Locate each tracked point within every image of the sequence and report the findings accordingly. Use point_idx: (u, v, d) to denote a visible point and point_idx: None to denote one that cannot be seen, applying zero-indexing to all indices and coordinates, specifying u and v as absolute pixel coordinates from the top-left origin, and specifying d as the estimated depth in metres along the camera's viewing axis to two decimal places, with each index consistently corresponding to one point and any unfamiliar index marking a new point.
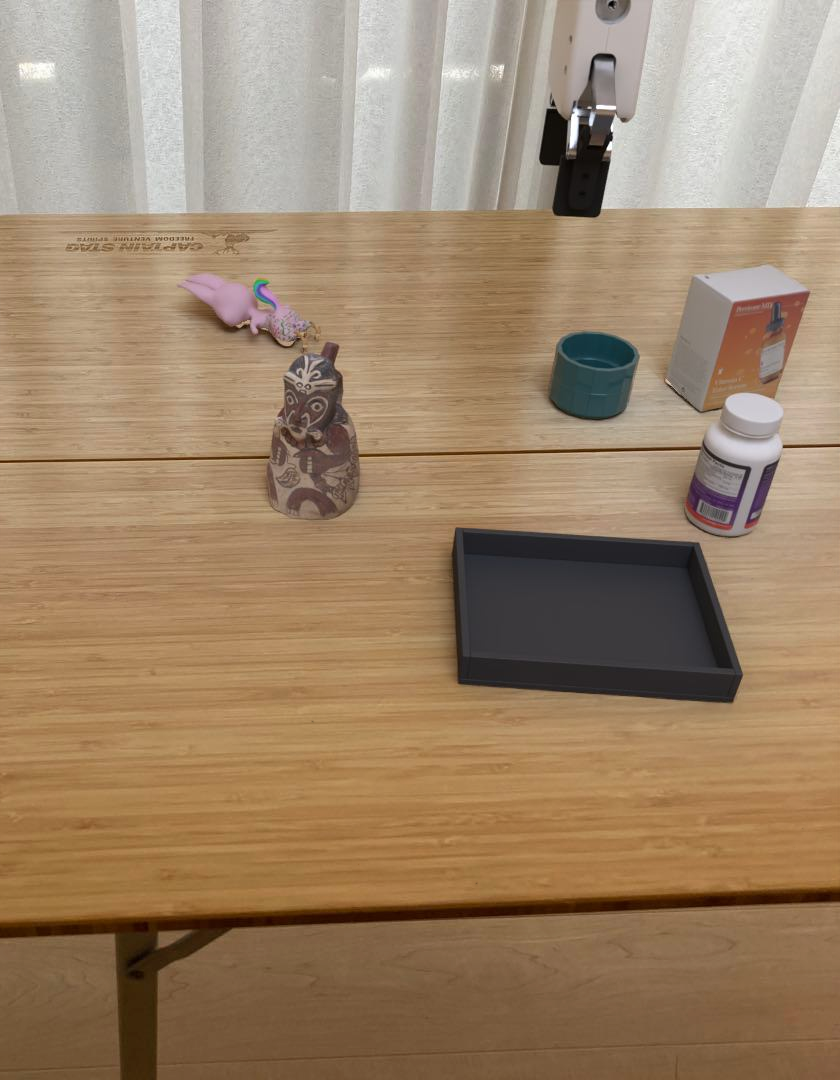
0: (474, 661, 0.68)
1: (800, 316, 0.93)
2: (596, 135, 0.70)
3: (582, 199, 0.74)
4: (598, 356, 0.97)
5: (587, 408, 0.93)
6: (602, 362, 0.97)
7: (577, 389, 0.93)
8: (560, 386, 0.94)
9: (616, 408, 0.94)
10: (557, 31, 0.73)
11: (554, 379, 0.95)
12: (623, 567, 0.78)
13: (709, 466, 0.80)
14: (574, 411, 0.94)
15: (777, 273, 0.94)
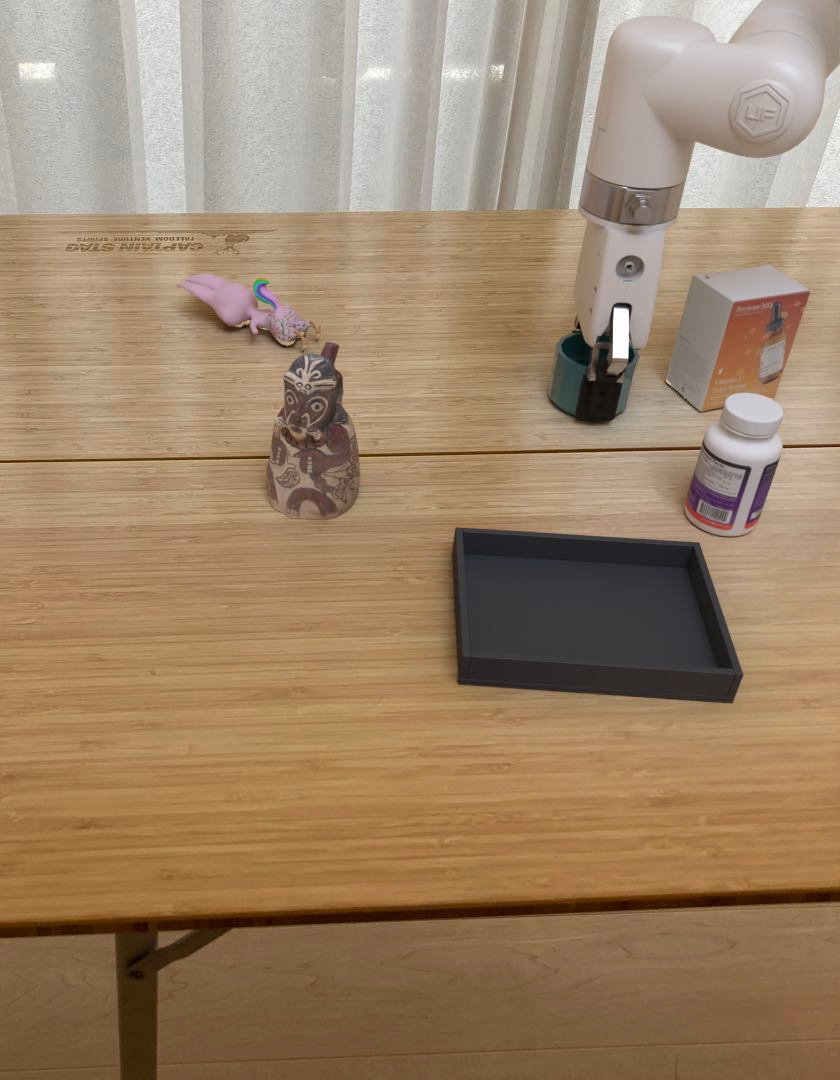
0: (474, 661, 0.68)
1: (800, 316, 0.93)
2: (612, 371, 0.87)
3: (600, 409, 0.92)
4: None
5: None
6: None
7: (577, 389, 0.93)
8: (560, 386, 0.94)
9: None
10: (583, 274, 0.89)
11: (554, 379, 0.95)
12: (623, 567, 0.78)
13: (709, 466, 0.80)
14: (574, 411, 0.94)
15: (777, 273, 0.94)
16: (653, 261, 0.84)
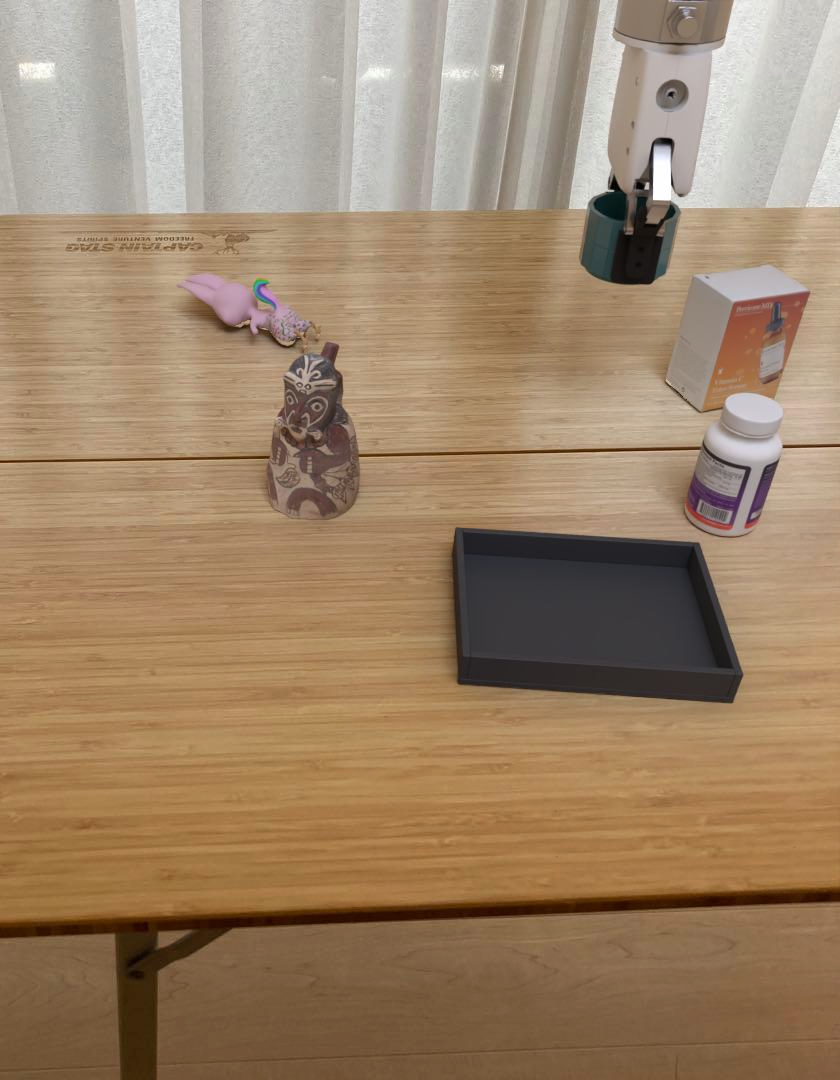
0: (474, 661, 0.68)
1: (800, 316, 0.93)
2: (652, 218, 0.78)
3: (638, 269, 0.82)
4: None
5: None
6: None
7: (612, 249, 0.83)
8: (592, 248, 0.85)
9: None
10: (618, 114, 0.80)
11: (585, 242, 0.85)
12: (623, 567, 0.78)
13: (709, 466, 0.80)
14: (608, 276, 0.85)
15: (777, 273, 0.94)
16: (698, 86, 0.74)
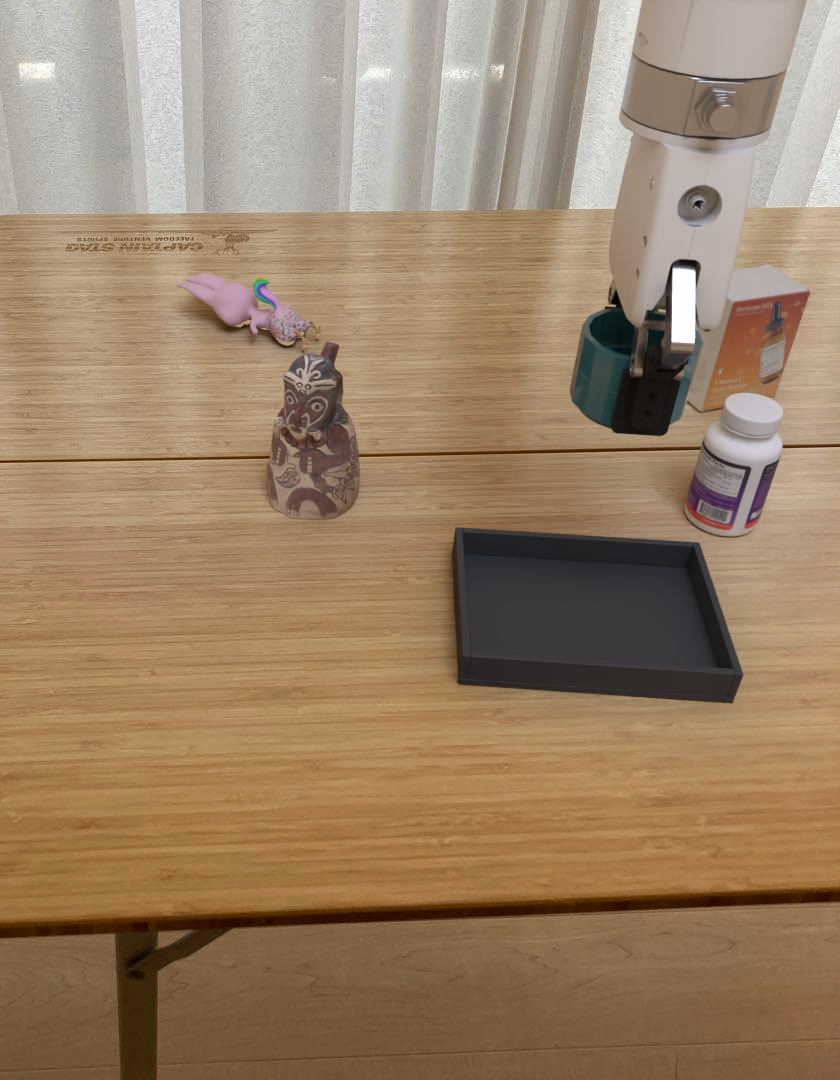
0: (474, 661, 0.68)
1: (800, 316, 0.93)
2: (668, 364, 0.58)
3: (647, 419, 0.63)
4: None
5: None
6: (646, 351, 0.68)
7: (612, 390, 0.64)
8: (587, 385, 0.65)
9: None
10: (625, 220, 0.60)
11: (579, 375, 0.66)
12: (623, 567, 0.78)
13: (709, 466, 0.80)
14: (607, 421, 0.65)
15: (777, 273, 0.94)
16: (735, 194, 0.55)
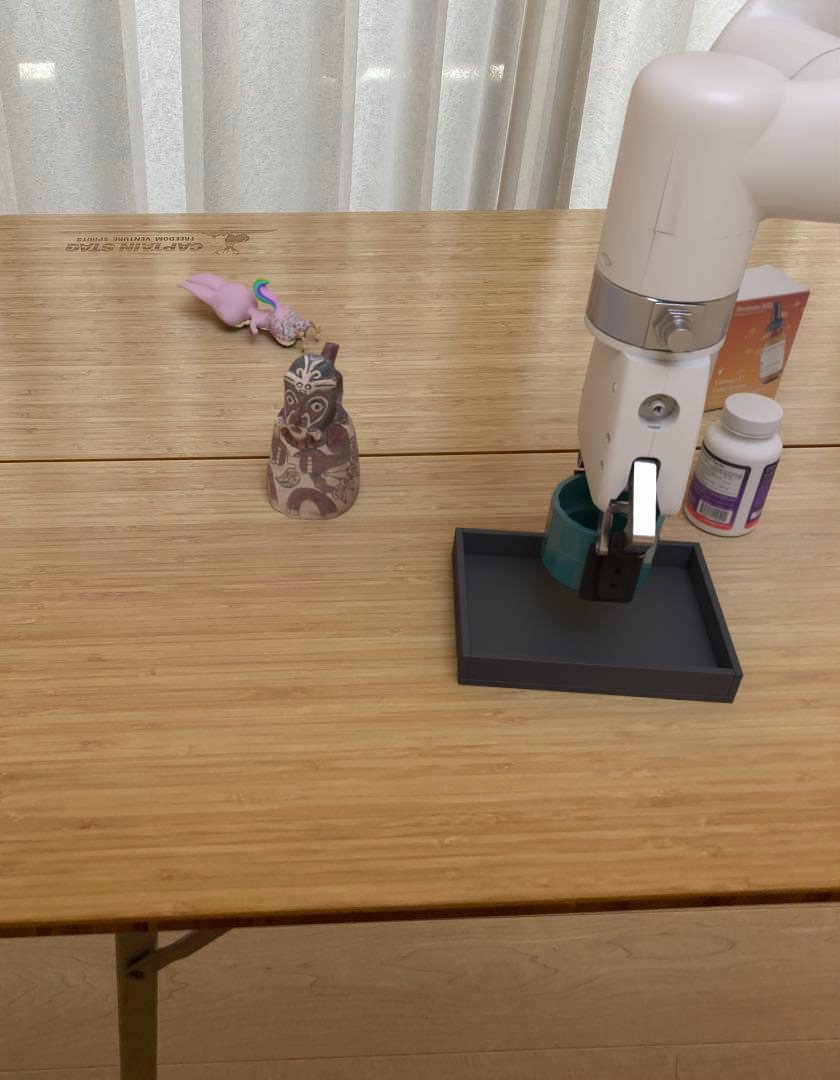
0: (474, 661, 0.68)
1: (800, 316, 0.93)
2: (631, 550, 0.62)
3: (613, 590, 0.66)
4: None
5: None
6: None
7: (580, 560, 0.67)
8: (557, 552, 0.68)
9: None
10: (591, 408, 0.64)
11: (549, 541, 0.69)
12: None
13: (709, 466, 0.80)
14: (576, 587, 0.69)
15: (777, 273, 0.94)
16: (692, 402, 0.58)
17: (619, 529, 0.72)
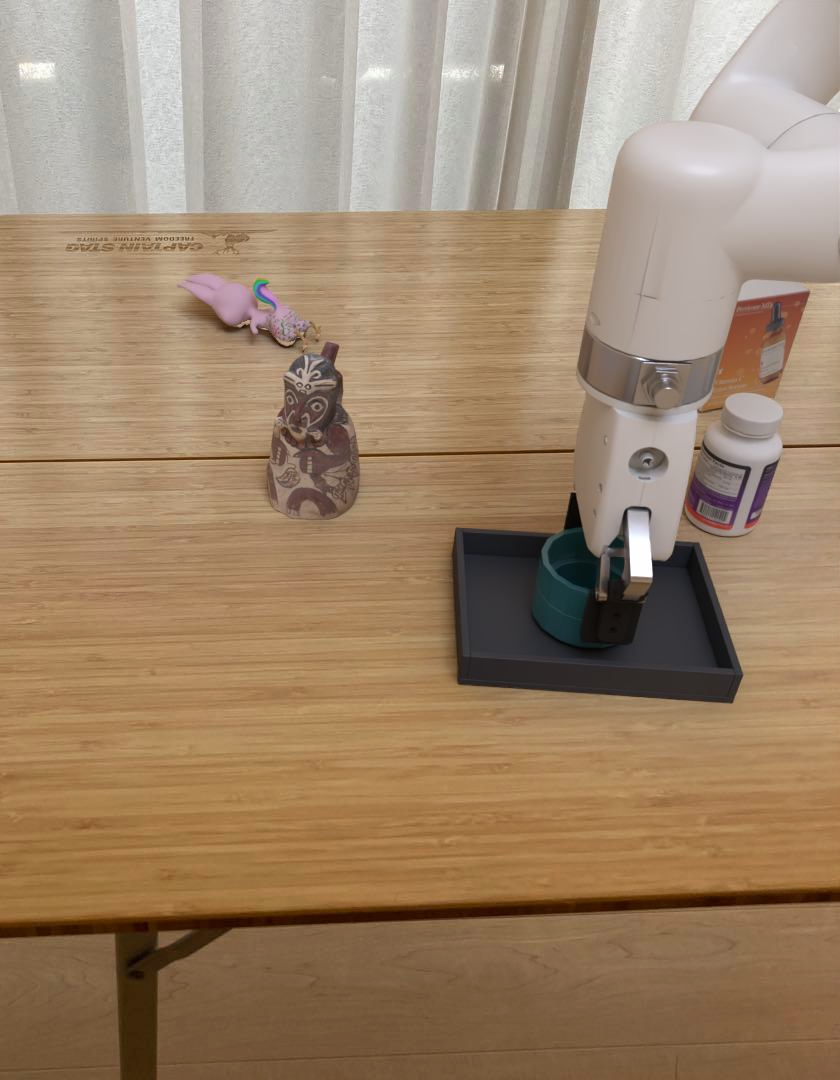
0: (474, 661, 0.68)
1: (800, 316, 0.93)
2: (630, 595, 0.62)
3: (613, 634, 0.67)
4: (596, 558, 0.74)
5: None
6: None
7: (568, 614, 0.70)
8: (546, 606, 0.71)
9: None
10: (584, 456, 0.66)
11: (538, 595, 0.72)
12: None
13: (709, 466, 0.80)
14: (565, 639, 0.71)
15: None
16: (680, 454, 0.60)
17: None
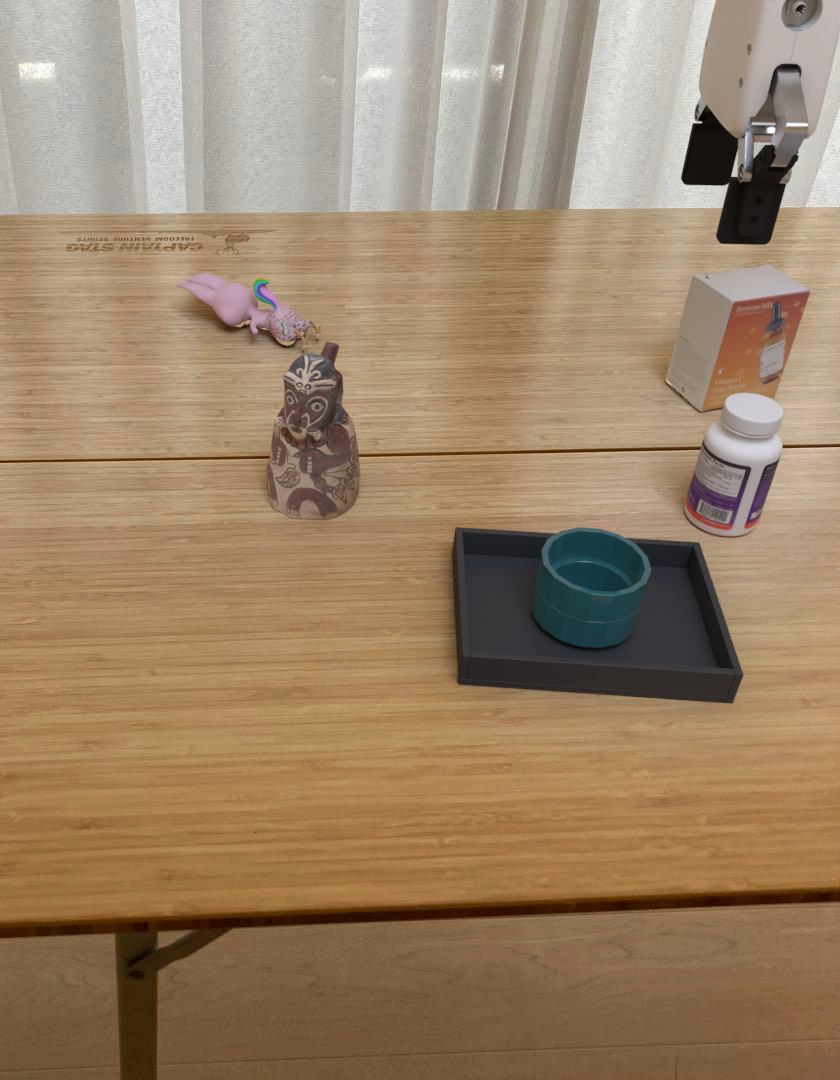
0: (474, 661, 0.68)
1: (800, 316, 0.93)
2: (781, 155, 0.62)
3: (754, 225, 0.67)
4: (596, 558, 0.74)
5: (582, 637, 0.71)
6: (601, 566, 0.74)
7: (568, 614, 0.70)
8: (546, 606, 0.71)
9: (620, 636, 0.71)
10: (723, 39, 0.66)
11: (538, 595, 0.72)
12: None
13: (709, 466, 0.80)
14: (565, 639, 0.71)
15: (777, 273, 0.94)
16: None
17: (607, 581, 0.74)
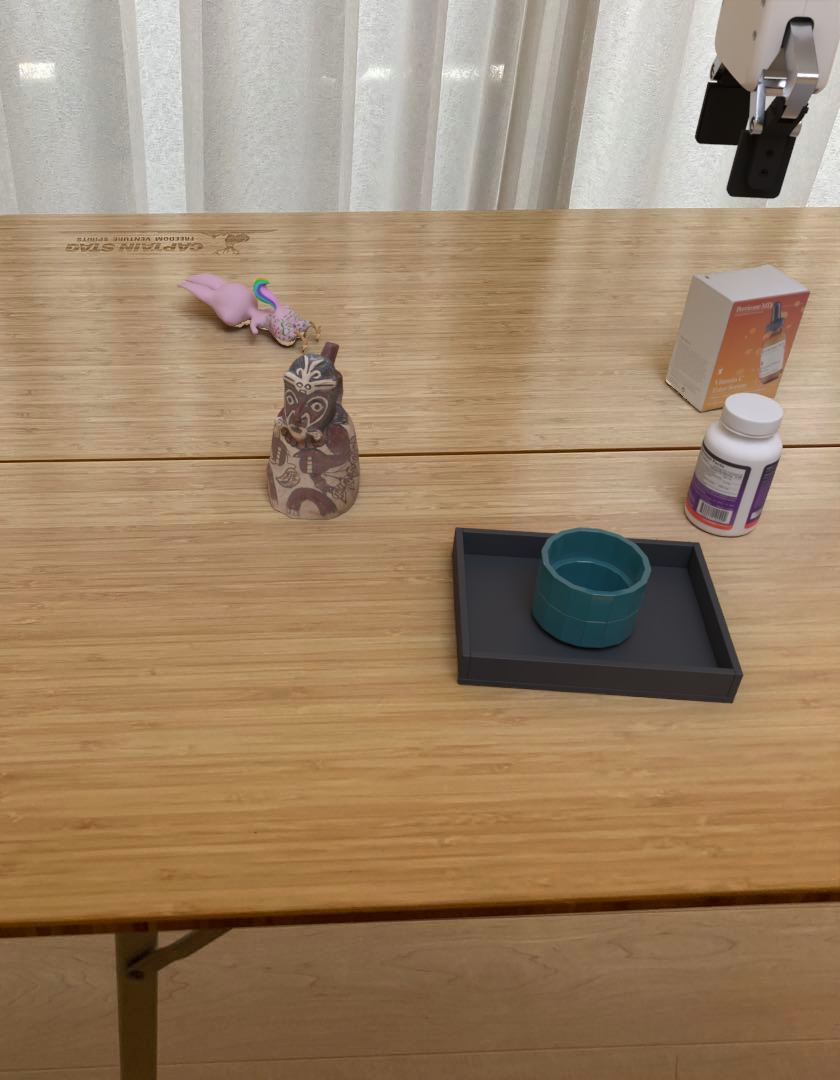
0: (474, 661, 0.68)
1: (800, 316, 0.93)
2: (792, 106, 0.64)
3: (763, 178, 0.68)
4: (596, 558, 0.74)
5: (582, 637, 0.71)
6: (601, 566, 0.74)
7: (568, 614, 0.70)
8: (546, 606, 0.71)
9: (620, 636, 0.71)
10: None
11: (538, 595, 0.72)
12: None
13: (709, 466, 0.80)
14: (565, 639, 0.71)
15: (777, 273, 0.94)
16: None
17: (607, 581, 0.74)
